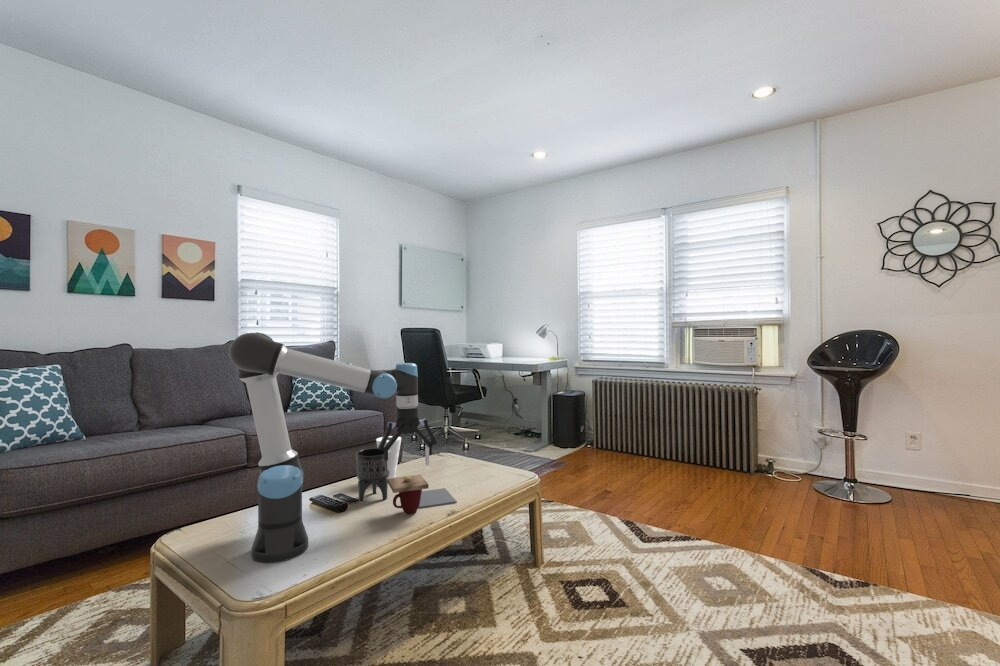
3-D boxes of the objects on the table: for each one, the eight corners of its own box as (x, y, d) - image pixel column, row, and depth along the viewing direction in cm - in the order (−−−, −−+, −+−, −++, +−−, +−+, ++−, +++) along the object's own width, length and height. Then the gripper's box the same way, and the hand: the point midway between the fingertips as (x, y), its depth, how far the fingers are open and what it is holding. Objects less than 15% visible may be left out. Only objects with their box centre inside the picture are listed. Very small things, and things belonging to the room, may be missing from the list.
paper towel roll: (371, 481, 199) (370, 439, 199) (390, 475, 207) (389, 435, 207) (387, 486, 193) (387, 442, 193) (406, 479, 201) (406, 438, 201)
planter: (365, 506, 170) (364, 458, 170) (350, 497, 180) (350, 451, 180) (396, 498, 178) (396, 452, 178) (381, 489, 188) (380, 446, 188)
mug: (400, 520, 157) (400, 491, 157) (388, 514, 163) (388, 485, 163) (426, 512, 164) (426, 484, 164) (413, 506, 170) (413, 479, 170)
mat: (419, 508, 168) (419, 506, 168) (410, 494, 183) (410, 492, 183) (456, 502, 173) (456, 501, 173) (444, 489, 188) (444, 488, 188)
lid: (393, 493, 155) (393, 484, 155) (387, 482, 166) (387, 474, 166) (428, 488, 160) (428, 480, 160) (420, 478, 171) (420, 470, 171)
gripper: (372, 411, 155) (373, 474, 155) (444, 405, 165) (445, 465, 165) (369, 408, 162) (370, 468, 162) (438, 402, 171) (439, 459, 172)
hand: (408, 467), depth 163 cm, fingers open, 13 cm apart
